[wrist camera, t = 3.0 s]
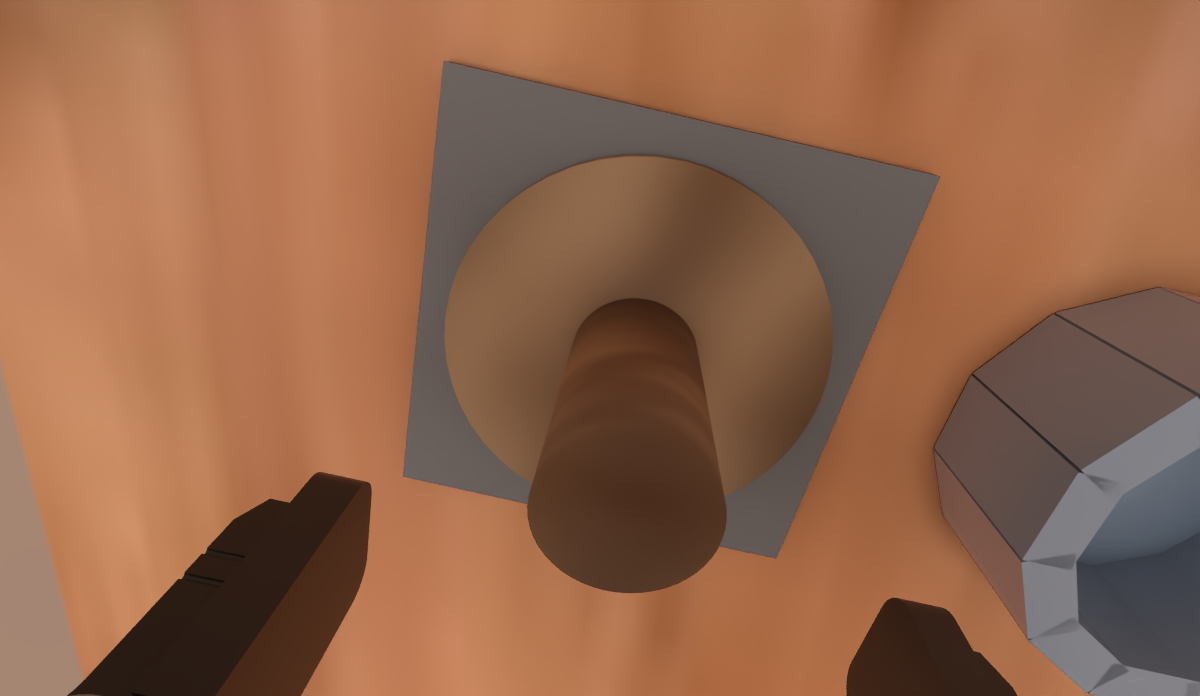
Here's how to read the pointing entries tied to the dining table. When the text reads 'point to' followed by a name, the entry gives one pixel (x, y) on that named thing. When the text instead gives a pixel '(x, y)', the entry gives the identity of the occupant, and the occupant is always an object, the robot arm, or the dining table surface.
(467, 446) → the coaster
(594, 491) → the lid
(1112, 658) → the bowl
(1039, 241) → the dining table surface
